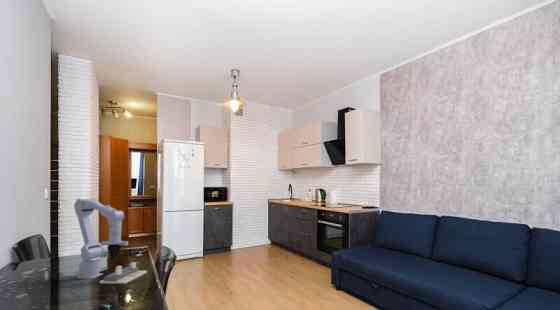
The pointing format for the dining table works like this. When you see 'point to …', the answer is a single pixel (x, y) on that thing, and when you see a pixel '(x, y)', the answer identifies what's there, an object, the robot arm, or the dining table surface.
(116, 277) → the switch unit
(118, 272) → the knob near
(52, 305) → the dining table surface
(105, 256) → the syrup box
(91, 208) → the robot arm
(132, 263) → the knob far
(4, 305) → the dining table surface
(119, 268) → the knob middle
